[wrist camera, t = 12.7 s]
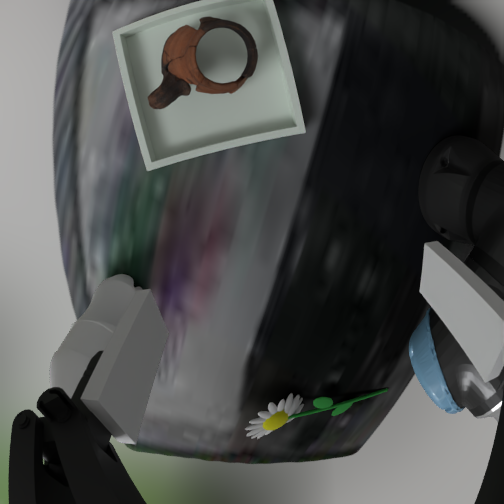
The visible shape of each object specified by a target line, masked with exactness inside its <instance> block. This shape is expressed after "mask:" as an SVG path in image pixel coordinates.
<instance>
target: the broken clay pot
mask: <svg viewBox="0 0 504 504" xmlns="http://www.w3.org/2000/svg"><path fill="white" fill-rule="evenodd" d="M199 21H200V26H199V28H198V30H196V29H195V28H193V27H191V26H189V25H185V26H182V27H180V28H179V29H177V30H176V31H175V32H174V33H172V34H171V35H170V36H169V37H168V38H167V40H166V42H165V44H164V48H163V53H162V57H161V73H162V74H163V80H162V83H161V85H160V86H159V87H158V88H157V89H155V90H154V91H153V92H152V93H151V94H150V95H149V96H148V101H149V105H150V107H152V108H153V109H164V108H166V107H167V106H168V105H170V104H171V103H172V102H174V101H175V100H176V99H177V98H178V97H180V96H182V95H183V96H188V95H189V94H190V92H191V86H190V85H189V84H194V85H196V91H197V92H202V93H208V94H224V93H230V94H232V93H234V92H236V91H237V90H238V89H239V88H240V87H241V86H242V85H243V84H244V83H245V81H246V80H247V79H248V78H249V77H251V76H252V75H253V73H254V71H255V69H256V65H257V61H258V51H257V48H256V43H255V40H254V38H253V37H252V35H251V33H250V32H249V31H248V30H247V29H246V28H245V27H244V26H242V25H241V24H238V23H236V22H233V21H229V20H222V19H220V18H213V17H210V16H209V17H203V18H200V19H199ZM215 28H227V29H231V30H233V31H234V32H236V33H237V34H238V35H239V36H240V37H241V38H242V39H243V41H244V43H245V45H246V49H247V64H246V67H245V69H244V71H243V73H242V74H241V76H240V77H239V78H238V79H237V80H236V81H231V82H228V83H217V82H214V81H212V80H210V79H208V78H207V77H205V76H204V75H203V74H202V72H201V71H200V69H199V67H198V65H197V61H196V49H197V46H198V43H199V41H200V39H201V38H202V37H203V36H204V35H205V34H206V33H207V32H208V31H210V30H212V29H215Z"/></svg>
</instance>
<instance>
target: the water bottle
mask: <svg viewBox="0 0 504 504" xmlns="http://www.w3.org/2000/svg"><path fill="white" fill-rule="evenodd" d="M138 290H143V289H142V288H141V287H139V286H138V287H134V281H133V278H131V277H130V276H129V275H125V274H118V275H115V276H112V277H110V278H107V279H105V280H103V281H102V283H101V284H100V285H99V286H98V288H97V289H96V290H95V292H94V295H93V298H92V301H91V303H90V305H89V307H88V309H87V310H86V311H85V313H84V314H83V315H82V316H81V317H80V318H79V319H78V320H77V321H76V322H75V323H74V324H72V326H71V329H70V331H69V333H68V334H67V336H66V338H65V339H64V341H63V343H62V344H61V346H60V347H59V349H58V351H56V352H55V354H54V356H53V358H52V360H51V365H50V388H52V387H60V388H62V389H63V390H64V391H65V392H66V394H67V395H68V396H69V397H70V399H71V398H72V396H73V393H74V391H75V389H76V387H77V385H78V383H79V381H80V379H81V377H83V373H84V371H85V370H87V369H86V368H87V366H88V364H89V362H90V360H91V358H92V357H93V356H94V355H95V354H96V353H97V352H98V351H104V349H105V347H106V345H107V344H108V342H109V340H110V338H111V336H112V334H113V332H114V330H115V328H116V327H117V325H118V323H119V321H120V319H121V317H122V316H123V314H124V312H125V310H126V308H127V307H128V305H129V303H130V301H131V299H132V298H133V296H134V294H135V292H136V291H138ZM44 417H45V416H44Z"/></svg>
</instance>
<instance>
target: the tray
mask: <svg viewBox="0 0 504 504" xmlns="http://www.w3.org/2000/svg"><path fill="white" fill-rule="evenodd" d="M209 16H210V17H213V18H220V19H222V20H229V21H233V22H236V23H238V24H241V25H242V26H244V27H245V28H246V29H247V30H248V31H249V32H250V33H251V35H252V37H253V38H254V40H255V43H256V48H257V51H258V61H257V65H256V69H255V71H254V73H253V75H252V76H251V77H249V78H248V79H247V80H246V81H245V83H244V84H243V85H242V86H241V87H240V88H239V89H238V90H237V91H236V92H234V93H232V94H230V93H224V94H208V93H202V92H197V91H196V85H194V84H189V85H190V86H191V92H190V94H189V95H188V96H183V95H182V96H180V97H178V98H177V99H176V100H175V101H174V102H172V103H171V104H170V105H168V106H167V107H166V108H164V109H153V108H152V107H150V105H149V101H148V96H149V95H150V94H151V93H152V92H153V91H154V90H155V89H157V88H158V87H159V86H160V85H161V83H162V80H163V74H162V73H161V57H162V53H163V48H164V44H165V42H166V40H167V38H168V37H169V36H170V35H171V34H172V33H174V32H175V31H176V30H177V29H179V28H180V27H182V26H185V25H189V26H191V27H193V28H195V29H196V30H198V28H199V26H200V21H199V19H200V18H203V17H209ZM113 38H114V43H115V48H116V53H117V57H118V62H119V67H120V71H121V75H122V80H123V84H124V88H125V92H126V96H127V100H128V104H129V108H130V112H131V116H132V120H133V124H134V127H135V131H136V135H137V138H138V142H139V145H140V149H141V152H142V156H143V159H144V162H145V166H146V169H147V171H150V170H153V169H156V168H159V167H163V166H166V165H169V164H173V163H176V162H180V161H183V160H187V159H190V158H194V157H197V156H201V155H205V154H209V153H213V152H217V151H221V150H225V149H229V148H233V147H237V146H241V145H246V144H250V143H255V142H260V141H264V140H269V139H274V138H279V137H284V136H290V135H295V134H301V133H306V131H305V126H304V121H303V116H302V111H301V107H300V102H299V97H298V93H297V89H296V84H295V80H294V76H293V72H292V68H291V64H290V60H289V56H288V52H287V48H286V44H285V41H284V37H283V33H282V30H281V26H280V22H279V19H278V16H277V12H276V9H275V5H274V2H273V0H201V1H197V2H193V3H190V4H186V5H183V6H179V7H176V8H173V9H170V10H167V11H164V12H161V13H158V14H155V15H152V16H150V17H147V18H144V19H142V20H139V21H137V22H134V23H132V24H129V25H127V26H124V27H122V28H120V29H117V30H115V31H113ZM196 61H197V65H198V67H199V69H200V71H201V72H202V74H203V75H204V76H205V77H207V78H208V79H210V80H212V81H214V82H217V83H228V82H231V81H236V80H237V79H238V78H239V77H240V76H241V74H242V73H243V71H244V69H245V67H246V64H247V49H246V45H245V43H244V41H243V39H242V38H241V37H240V36H239V35H238V34H237V33H236V32H234V31H233V30H231V29H227V28H215V29H212V30H210V31H208V32H207V33H206V34H205V35H204V36H203V37H202V38H201V39H200V41H199V43H198V46H197V49H196Z"/></svg>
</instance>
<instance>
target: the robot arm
mask: <svg viewBox="0 0 504 504" xmlns="http://www.w3.org/2000/svg"><path fill="white" fill-rule="evenodd" d="M418 195H419V204H420V208H421V212H422V214H423V217H424V219H425V221H426V222H427V224H428V225H429V226H430V227H431V228H432V229H433V230H434V231H436V232H437V233H438V234H440V235H441V236H442V237H444V238H446V239H449V240H452V241H457V242H462V243H467V244H472V245H475V246H474V248H473V250H472V251H471V253H470V255H469V256H468V257H467V259H466V260H465V262H464V263H462V262H461V261H460V260H459V259H458V258H457V257H456V256H454V255H453V254H452V253H451V252H450V251H449V250H447V249H446V248H445V247H444V246H443V245H441V244H440V243H439V242H438V241H435V242H429V243H425V246H424V258H423V268H422V277H421V285H420V293H421V294H422V295H423V296H424V298H425V299H426V300H427V302H428V303H429V304H430V305H431V308H429V309H428V311H427V312H426V316H425V317H424V319H423V320H422V321H421V323H420V324H419V325H418V327H417V328H416V329H415V331H414V332H413V334H412V336H411V338H410V342H409V355H410V358H411V363H412V366H413V369H414V372H415V374H416V376H417V378H418V380H419V382H420V384H421V385H422V387H423V388H424V390H425V392H426V393H427V394H428V396H429V397H430V398H431V400H432V401H433V402H434V403H435V404H436V405H437V406H438V407H439V408H441V409H445V411H446V412H447V413H451V414H454V413H457V412H460V411H462V410H463V409H464V408H465V407H466V408H467V409H469V411H470V412H471V413H472V414H473V415H474V416H475V417H476V418H485V417H494V418H495V419H496V420H497V421H498V426H497V431H496V435H495V440H494V444H493V448H492V452H491V456H490V460H489V463H488V466H487V470H486V473H485V476H484V479H483V482H482V485H481V488H480V491H479V493H478V496H477V499H476V501H475V504H504V161H503V160H502V159H501V158H500V157H499V156H497V155H496V154H495V153H494V152H493V151H492V150H490V149H489V148H488V147H487V146H486V145H484V144H483V143H482V142H480V141H478V140H476V139H474V138H470V137H466V136H461V135H455V136H450V137H448V138H445V139H444V140H442V141H441V142H439V143H438V144H437V145H436V146H435V147H434V148H433V149H432V151H431V152H430V153H429V155H428V157H427V159H426V161H425V163H424V165H423V168H422V171H421V175H420V180H419V189H418ZM168 335H169V333H168V330H167V328H166V326H165V323H164V321H163V319H162V316H161V314H160V311H159V309H158V306H157V304H156V302H155V299H154V297H153V294H152V291H151V289H146V290H138V291H136V292H135V294H134V296H133V298H132V299H131V301H130V303H129V305H128V307H127V308H126V310H125V312H124V314H123V316H122V317H121V319H120V321H119V323H118V325H117V327H116V328H115V330H114V332H113V334H112V336H111V338H110V340H109V342H108V344H107V345H106V347H105V349H104V351H98V352H97V353H96V354H95V355H94V356H93V357H92V358H91V360H90V362H89V364H88V366H87V368H86V369H87V370H85V371H84V373H83V377H81V379H80V381H79V383H78V385H77V387H76V389H75V391H74V393H73V396H72V398H71V399H70V397H69V396H68V395H67V394H66V392H65V391H64V390H63V389H62V388H60V387H52V388H50V389H48V390H46V391H45V392H43V393H42V395H41V396H40V397H39V399H38V401H37V409H38V410H39V411H40V412H41V413H42V414H43V415H44V416H45V417H40V418H39V417H38V416H37V415H36V414H35V413H34V412H33V411H31V410H24V411H22V412H20V413H19V414H18V415H17V416H16V417H15V419H14V421H13V425H12V433H11V444H10V456H9V457H10V458H9V504H146V502H145V501H144V499H143V498H142V496H141V494H140V493H139V491H138V490H137V488H136V486H135V485H134V483H133V481H132V480H131V478H130V476H129V475H128V473H127V471H126V469H125V467H124V466H123V464H122V462H121V460H120V458H119V456H118V455H117V453H116V451H115V449H114V447H113V445H112V444H111V443H110V442H109V441H110V438H111V435H113V437H115V439H116V440H117V441H118V442H120V443H121V442H122V443H129V444H136V442H137V439H138V435H139V431H140V428H141V424H142V420H143V417H144V413H145V410H146V406H147V403H148V399H149V396H150V393H151V389H152V386H153V382H154V379H155V376H156V373H157V369H158V366H159V363H160V360H161V357H162V353H163V350H164V347H165V344H166V341H167V338H168ZM43 459H44V460H45V461H44V462H45V463H44V465H43Z"/></svg>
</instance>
